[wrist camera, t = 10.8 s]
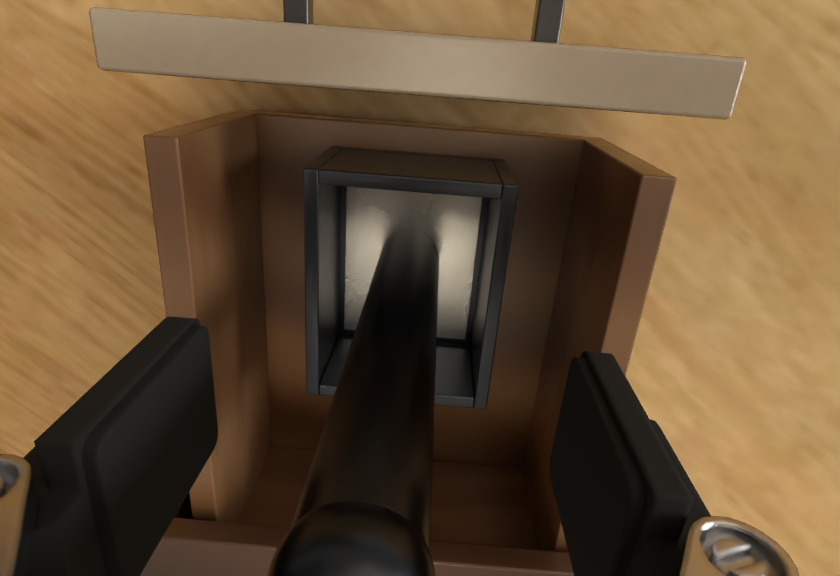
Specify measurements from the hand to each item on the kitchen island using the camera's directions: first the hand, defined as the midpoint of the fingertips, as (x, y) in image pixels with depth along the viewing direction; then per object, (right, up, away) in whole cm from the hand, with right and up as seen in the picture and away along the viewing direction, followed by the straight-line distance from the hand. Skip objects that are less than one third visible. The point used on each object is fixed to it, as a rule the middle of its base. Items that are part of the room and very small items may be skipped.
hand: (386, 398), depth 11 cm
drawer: (0, +5, +8) cm, 10 cm away
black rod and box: (0, +3, +8) cm, 8 cm away
